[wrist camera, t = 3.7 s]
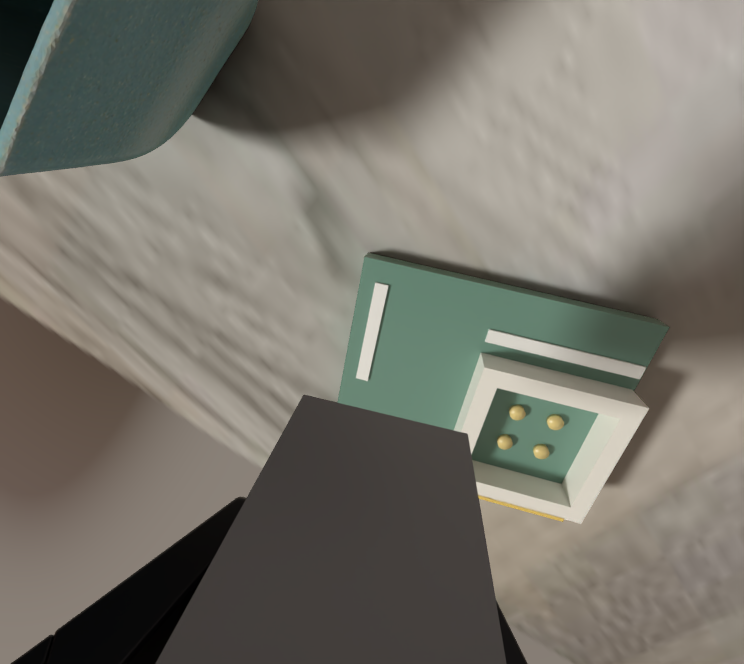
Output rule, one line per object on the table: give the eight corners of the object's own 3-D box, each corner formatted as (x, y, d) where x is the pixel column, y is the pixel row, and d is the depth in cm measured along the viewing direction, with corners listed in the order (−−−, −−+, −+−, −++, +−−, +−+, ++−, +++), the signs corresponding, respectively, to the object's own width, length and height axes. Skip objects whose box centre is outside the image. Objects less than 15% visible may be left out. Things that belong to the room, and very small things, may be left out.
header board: (657, 318, 16) (691, 341, 14) (559, 500, 21) (573, 539, 19) (368, 252, 17) (357, 263, 15) (333, 438, 22) (320, 469, 20)
